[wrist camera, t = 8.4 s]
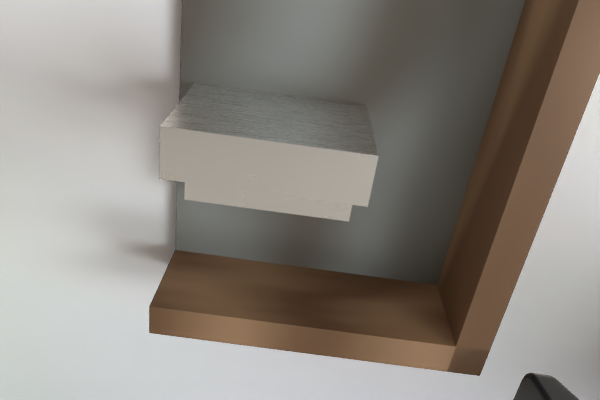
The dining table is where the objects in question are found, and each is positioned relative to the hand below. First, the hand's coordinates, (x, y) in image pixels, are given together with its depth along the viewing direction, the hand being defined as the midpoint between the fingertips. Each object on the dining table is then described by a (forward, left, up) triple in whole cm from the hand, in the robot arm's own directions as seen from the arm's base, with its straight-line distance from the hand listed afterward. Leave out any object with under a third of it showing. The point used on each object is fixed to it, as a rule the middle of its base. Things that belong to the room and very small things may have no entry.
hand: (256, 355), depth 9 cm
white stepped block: (+1, +1, -11) cm, 11 cm away
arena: (-2, 0, -12) cm, 12 cm away
